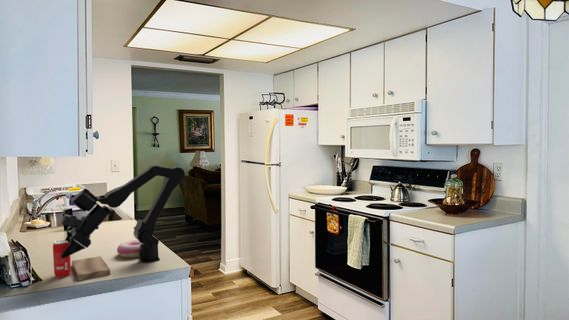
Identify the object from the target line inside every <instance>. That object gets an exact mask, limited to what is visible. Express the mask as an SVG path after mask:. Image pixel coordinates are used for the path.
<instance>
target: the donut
mask: <svg viewBox="0 0 569 320" xmlns="http://www.w3.org/2000/svg"><path fill="white" fill-rule="evenodd" d="M140 244H142V243H140V241H139V240H137V239H135V240H129V241H124V242H122V243H120V244H119V245H118V247H117V248H116V253H117V254H118V255H119V256H120V257H123V258H139V250H138V249H140Z"/></svg>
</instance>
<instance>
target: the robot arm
mask: <svg viewBox="0 0 569 320" xmlns="http://www.w3.org/2000/svg"><path fill="white" fill-rule="evenodd" d="M185 175H186V174H185V171H184V169H183V168H181V167H178V166H170V167H163V166H159V165H154V164H153V165H150V166H149V167H148V168H147V169H145V170H144V171H142V172H141V173H139V174H138V175H136V176H135V177H134V178H132V179H130V180H129V181H128V182H125V184H122V185H121V186H118V187H115V188H113V189H111V190H109V191H107V192H106V193H105V194H102V195H101V194H100V195H98V196H95V195H94V194H93V193H92V192H91V191H90V190H89V189H88V188H86V187H84V188H83V189H82V190H81V191H80V192H78V193H76V194H75V195H74V197H73V198H72V199H71V201H70V203H71V204H73V205H74V206H75V207H77V208H78V209H79V210H81V211H82V212H88V213H87V214H86V215H84V216H82V217H81V218H80V217H78V216H77V215H73V214H71V215H70V214H67V213H64V215H63V217H62V218H61V220H60V223H61V225H63V226H67V229H66V237H65V238H64V240H66V241H69V243H70V244H69V245H68V247H67V248H66V250H65V251H64V252H63V254H62V255H61V258H66V257H68V256H70V257H71V255H74V254H76V253H78V252H81V251H82V250H86V249H88V248H89V247H90V246H91V245H92V239H91V235H92V234H93V233H94V232H95V231H96V230H99V229H100V227H99V226H100V225H101V224H102V223H103V222H104V221H105V220H106V219H107V218H108V217H109V216H110V217H112V218H113V219H114V218H116V216H115V213H116V211H115V209H116V208H118V207H120V206H121V205H122V204H123V203H124V202H125V201H126V200H127V199H128V198H129V196H131V194H132V193H134V192H136V191H137V190H138V189H140V188H141V187H142V186H144V185H145V184H147V183H148V182H149V181H151V180H152V179H153V178H155V177H157V176H158V177H163V183H162V187H161V188H160V190H159V192H158V193H157V196H156V198H154V201H153V203H152V205H151V207H150V208H149V210H148V212H147V214H146V215H145V217H144V218H142V220H141V219H138V220H137V222H136V225H134V227H133V236H134V238H135V240H139V241H140V243H142V244H140V249H138V250H139V257H138V260H139V261H140V262H141V263H150V262H155V261H160V260H161V258H160V257H159V243H160V239H158V238H157V237H156V236H154V233H155V232H156V231H155V230H156V225H157V221H158V219H159V217H160V215H161V213H162V212H163V210H164V209H165V206H166V204H167V203H168V201H169V198H170V197H171V195H172V193H173V192H174V190H175V189H176V188H177V187H178V186H179V185H180V184H181V183H182V181H183V180H184V179H185ZM100 204H101V205H100ZM102 205H103V206H102ZM109 207H110V208H114V209H110V208H109Z"/></svg>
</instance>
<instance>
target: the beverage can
mask: <svg viewBox="0 0 569 320" xmlns="http://www.w3.org/2000/svg"><path fill="white" fill-rule="evenodd" d="M69 244H70V243H69V241H66V240H65V239H64V240H57V241H54V242H53V243H52V256H53V273H54V276H55V278H58V279H61V278H62V279H63V278H68V277H69V276H70V275H71V274H72V273H71V272H72V261H71V255H70V256H68V257H66V258H61V255H62V254H63V252H64V251H65V250H66V248H67V247H68V245H69Z"/></svg>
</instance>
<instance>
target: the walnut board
mask: <svg viewBox="0 0 569 320" xmlns="http://www.w3.org/2000/svg"><path fill="white" fill-rule="evenodd" d="M71 267H72V268H73V271H74V272H75V273H74V274H75V275H76V277H77V280H78V281H83V280H88V279H93V278H98V277H103V276H109V275H111V268H110V266H108V264H107V263H106V262H105V260H104V259H103V257H102V256H101V255H99V256H93V257H87V258H81V259H75V260H72V261H71Z"/></svg>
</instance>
